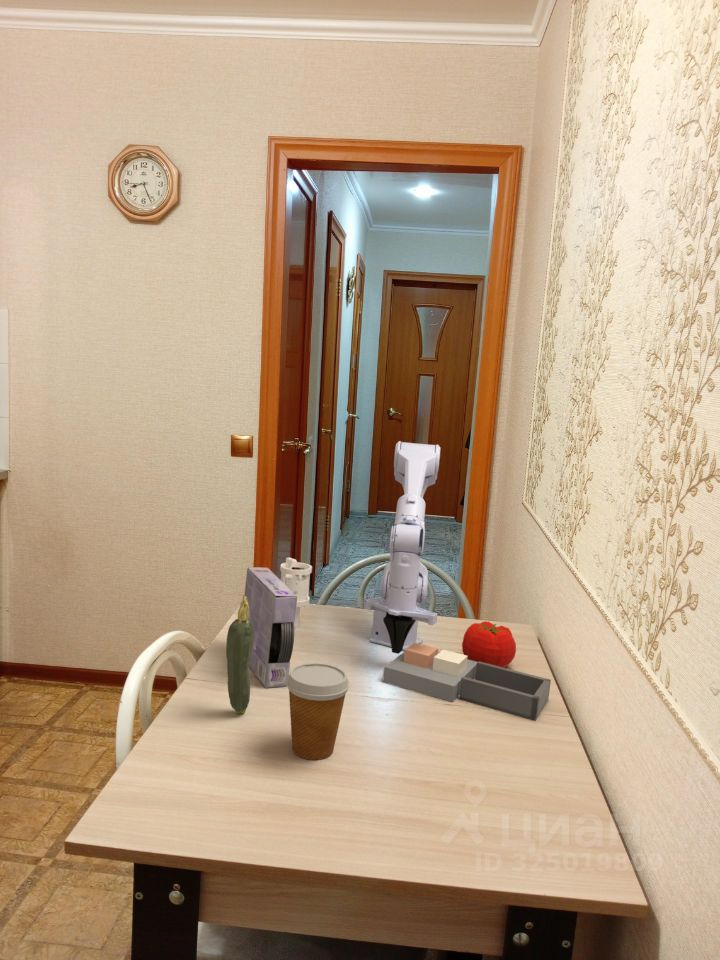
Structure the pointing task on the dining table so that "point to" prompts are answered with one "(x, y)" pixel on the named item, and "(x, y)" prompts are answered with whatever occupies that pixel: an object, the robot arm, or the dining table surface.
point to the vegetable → (239, 658)
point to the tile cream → (450, 663)
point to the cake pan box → (270, 625)
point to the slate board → (426, 678)
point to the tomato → (489, 644)
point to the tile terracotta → (420, 655)
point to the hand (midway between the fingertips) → (396, 651)
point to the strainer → (297, 583)
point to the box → (506, 690)
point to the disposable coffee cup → (316, 708)
